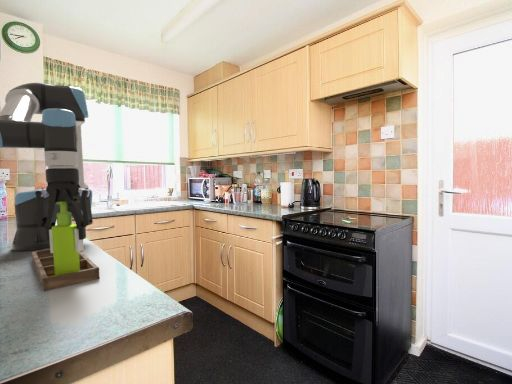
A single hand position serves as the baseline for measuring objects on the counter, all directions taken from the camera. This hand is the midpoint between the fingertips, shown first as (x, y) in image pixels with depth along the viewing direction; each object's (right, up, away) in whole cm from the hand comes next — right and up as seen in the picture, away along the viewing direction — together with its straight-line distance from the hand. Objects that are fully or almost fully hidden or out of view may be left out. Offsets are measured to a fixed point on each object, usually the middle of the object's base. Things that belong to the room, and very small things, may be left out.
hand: (67, 251), depth 80 cm
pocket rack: (-7, -7, +9) cm, 14 cm away
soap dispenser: (0, -6, 0) cm, 6 cm away
